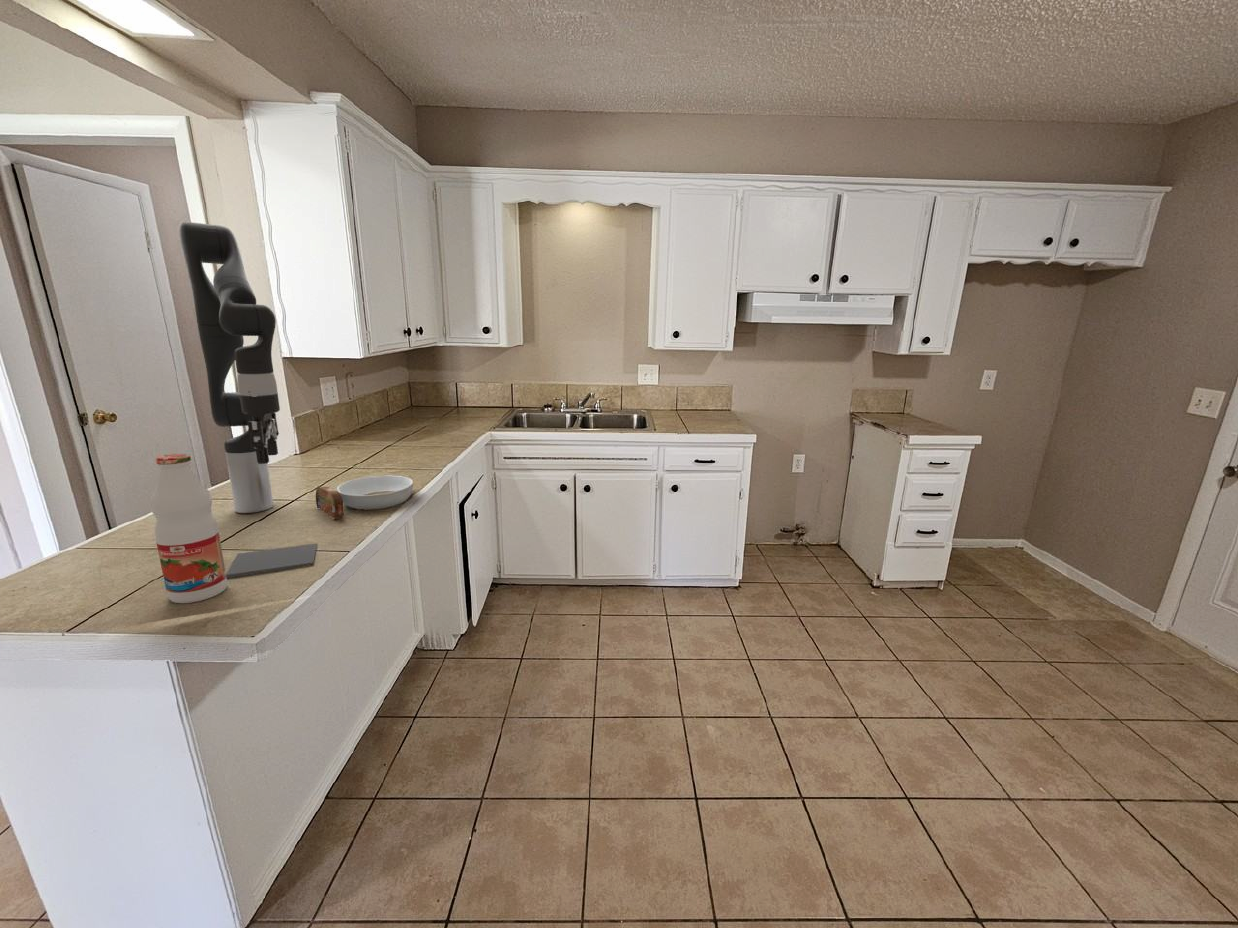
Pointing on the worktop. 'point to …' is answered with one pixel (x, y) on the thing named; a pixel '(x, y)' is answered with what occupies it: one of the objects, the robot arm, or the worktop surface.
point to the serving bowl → (359, 487)
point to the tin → (330, 502)
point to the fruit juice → (186, 533)
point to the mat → (272, 560)
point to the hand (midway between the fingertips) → (268, 459)
